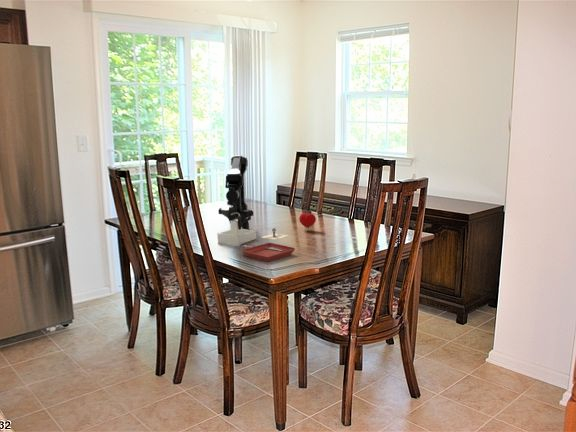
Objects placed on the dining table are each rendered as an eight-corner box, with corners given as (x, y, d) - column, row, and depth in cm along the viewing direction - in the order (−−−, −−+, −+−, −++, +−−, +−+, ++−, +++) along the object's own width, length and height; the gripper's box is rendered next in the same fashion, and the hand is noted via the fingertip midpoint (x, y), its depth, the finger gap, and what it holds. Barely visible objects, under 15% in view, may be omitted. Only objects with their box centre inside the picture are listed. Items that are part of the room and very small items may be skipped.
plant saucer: (240, 256, 258) (240, 249, 257) (269, 248, 270) (269, 241, 269) (267, 264, 245) (267, 256, 244) (296, 255, 257) (296, 248, 257)
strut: (231, 238, 282) (230, 220, 280) (236, 236, 285) (235, 219, 283) (237, 239, 280) (236, 221, 278) (242, 237, 283) (241, 219, 281)
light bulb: (318, 231, 300) (318, 212, 298) (312, 234, 294) (312, 215, 292) (303, 229, 304) (302, 211, 302) (296, 232, 299) (296, 214, 296)
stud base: (260, 239, 287) (260, 229, 286) (272, 235, 294) (272, 225, 293) (276, 241, 281) (275, 231, 280) (287, 237, 289) (287, 227, 288)
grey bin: (217, 242, 282) (217, 233, 281) (236, 237, 292) (235, 227, 291) (238, 246, 274) (237, 236, 273) (256, 240, 284) (255, 230, 283)
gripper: (209, 199, 278) (211, 230, 281) (238, 202, 267) (239, 234, 270) (225, 195, 286) (226, 225, 290) (253, 198, 275) (254, 229, 279)
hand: (236, 228), depth 282 cm, fingers closed on strut, 4 cm apart
